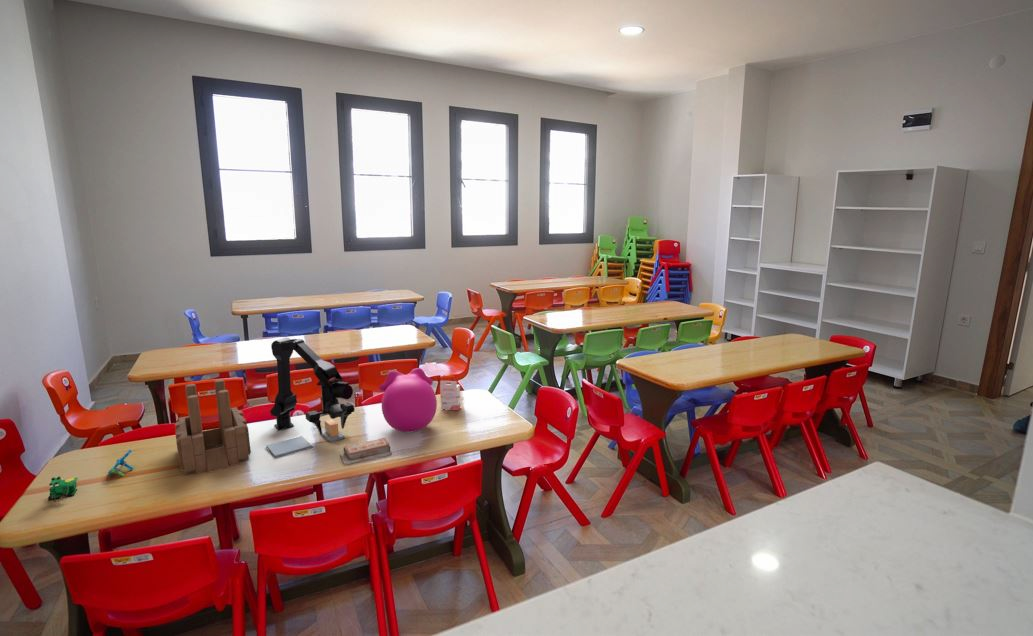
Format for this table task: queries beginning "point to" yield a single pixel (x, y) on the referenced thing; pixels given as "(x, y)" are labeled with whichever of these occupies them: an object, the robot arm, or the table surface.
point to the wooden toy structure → (211, 435)
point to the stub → (332, 431)
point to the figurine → (408, 400)
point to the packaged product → (365, 451)
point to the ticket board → (289, 446)
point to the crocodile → (62, 488)
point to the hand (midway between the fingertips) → (331, 431)
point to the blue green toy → (121, 462)
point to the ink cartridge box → (450, 395)
